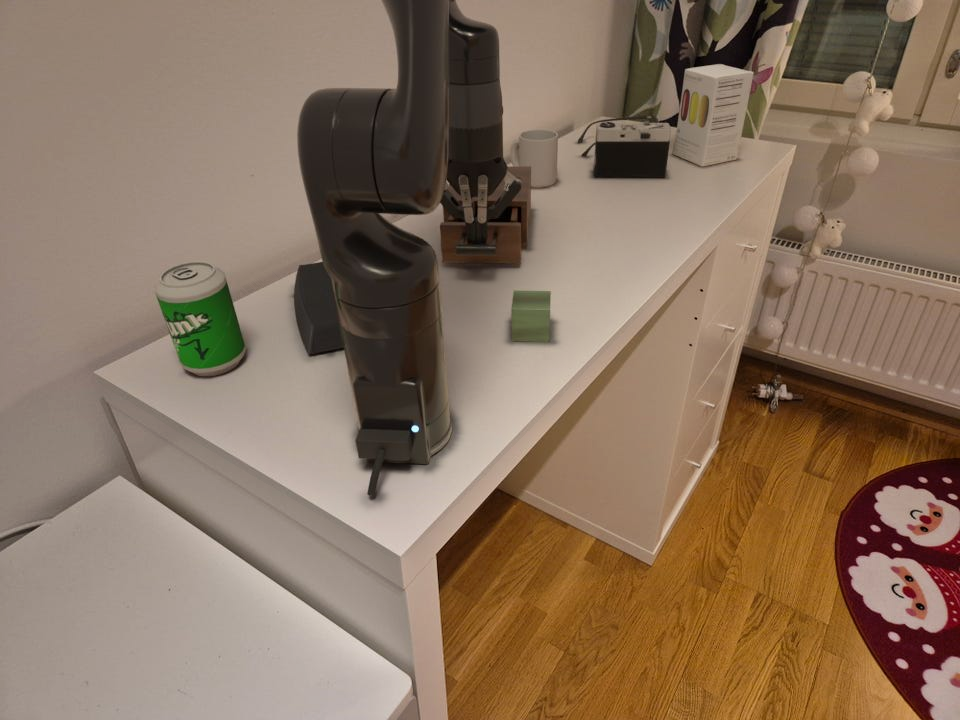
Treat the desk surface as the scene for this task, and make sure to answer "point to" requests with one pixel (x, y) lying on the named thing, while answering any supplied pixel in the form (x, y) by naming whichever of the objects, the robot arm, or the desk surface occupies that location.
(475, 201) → the cabinet
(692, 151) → the supplement box
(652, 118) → the sunglasses
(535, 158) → the cup
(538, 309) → the block
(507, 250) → the drawer
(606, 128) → the camera
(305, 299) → the hard drive
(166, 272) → the soda can
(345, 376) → the desk surface
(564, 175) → the desk surface
